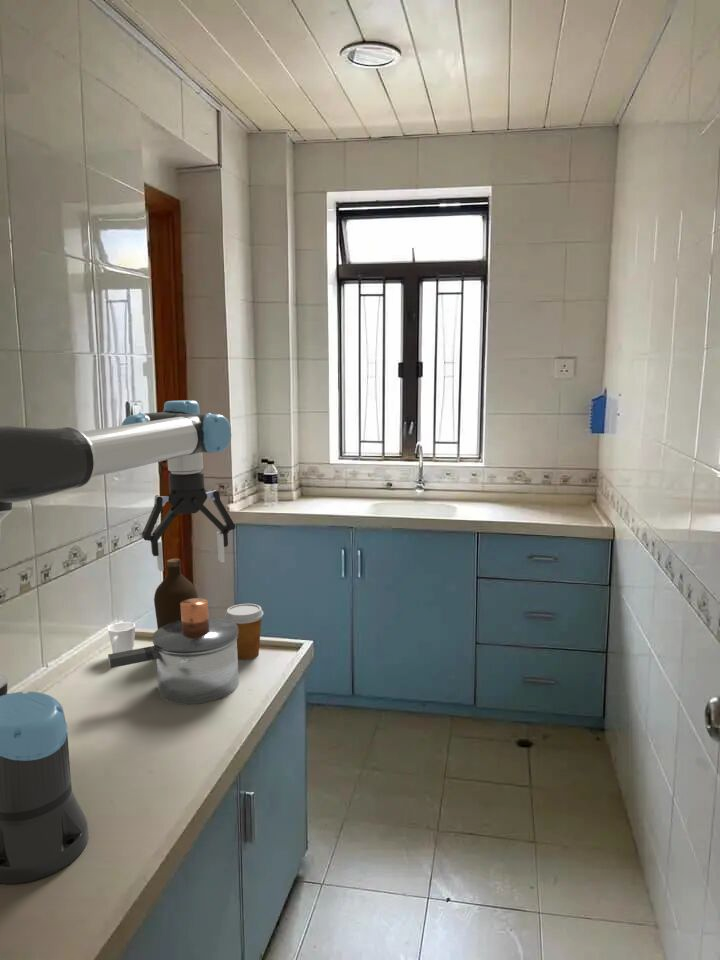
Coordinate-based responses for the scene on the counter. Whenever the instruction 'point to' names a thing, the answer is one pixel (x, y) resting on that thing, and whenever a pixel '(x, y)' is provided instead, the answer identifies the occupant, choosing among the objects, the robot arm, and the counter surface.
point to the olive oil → (172, 594)
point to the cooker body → (188, 672)
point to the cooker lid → (195, 630)
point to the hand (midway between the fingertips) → (191, 565)
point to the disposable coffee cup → (246, 628)
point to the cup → (122, 636)
